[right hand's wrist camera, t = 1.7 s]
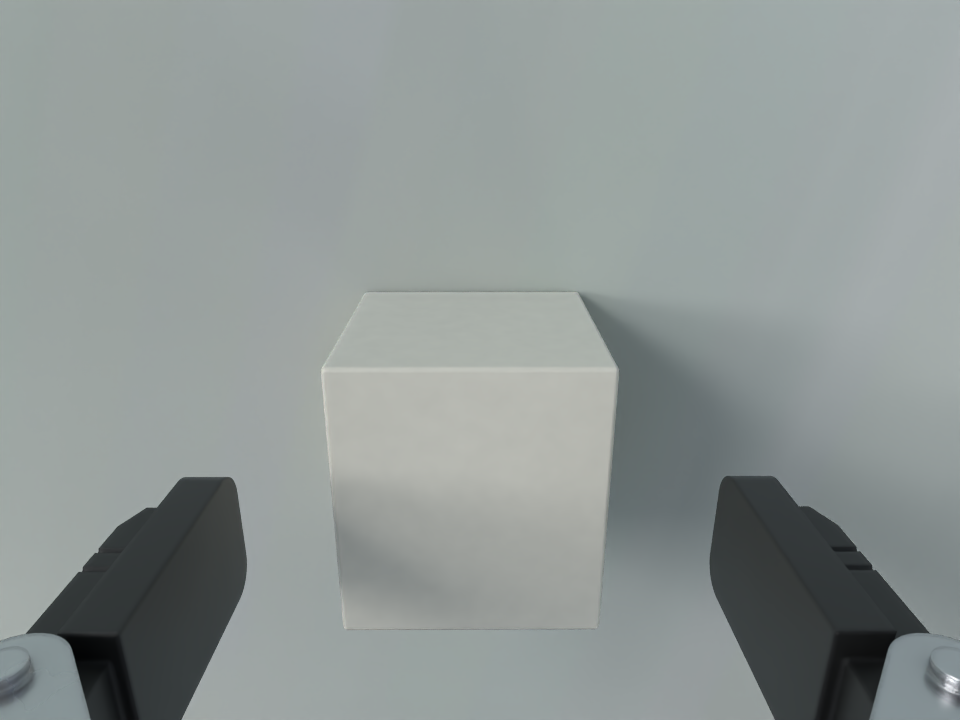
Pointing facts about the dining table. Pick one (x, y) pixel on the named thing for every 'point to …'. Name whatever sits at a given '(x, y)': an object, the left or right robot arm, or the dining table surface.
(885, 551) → the dining table surface
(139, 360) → the dining table surface
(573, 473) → the block
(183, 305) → the dining table surface
